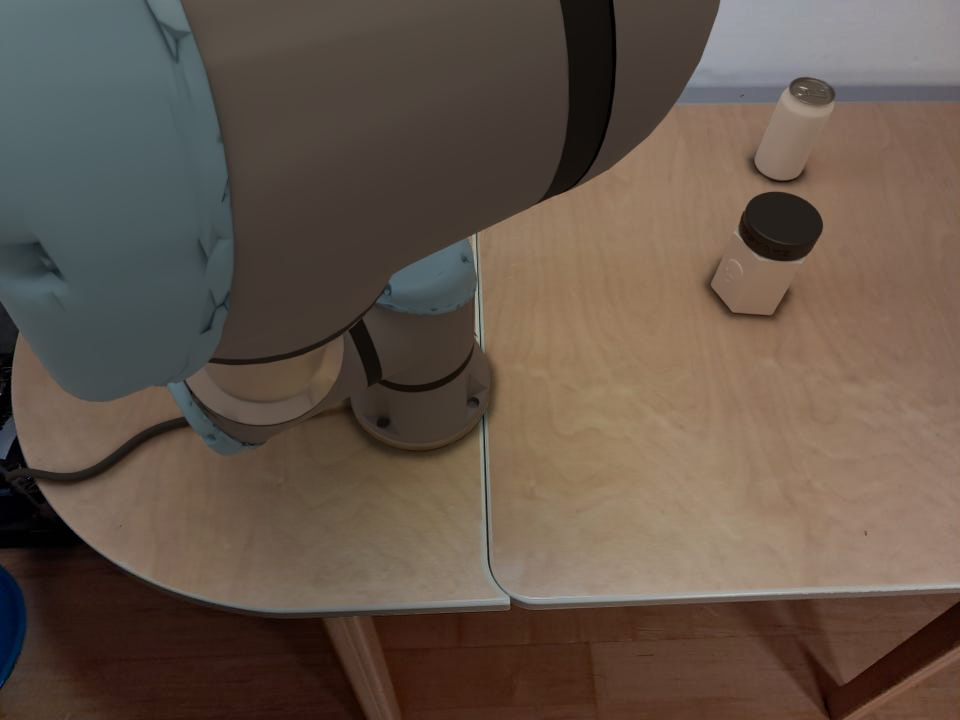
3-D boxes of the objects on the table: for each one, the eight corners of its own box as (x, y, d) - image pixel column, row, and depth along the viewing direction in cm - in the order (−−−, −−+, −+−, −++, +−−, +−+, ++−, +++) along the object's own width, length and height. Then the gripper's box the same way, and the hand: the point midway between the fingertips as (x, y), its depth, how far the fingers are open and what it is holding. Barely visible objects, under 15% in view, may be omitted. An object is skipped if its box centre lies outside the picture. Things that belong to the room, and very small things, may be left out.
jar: (697, 274, 86) (727, 201, 76) (751, 253, 87) (788, 179, 77) (742, 327, 81) (780, 258, 71) (798, 305, 83) (843, 233, 73)
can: (751, 148, 98) (783, 72, 88) (798, 153, 98) (835, 76, 88) (755, 179, 95) (788, 104, 85) (803, 184, 95) (843, 109, 85)
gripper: (55, -87, 45) (180, 187, 64) (72, -201, 55) (175, 65, 74) (-73, -74, 44) (93, 201, 63) (-31, -193, 54) (101, 76, 73)
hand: (138, 127), depth 68 cm, fingers closed on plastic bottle, 6 cm apart
